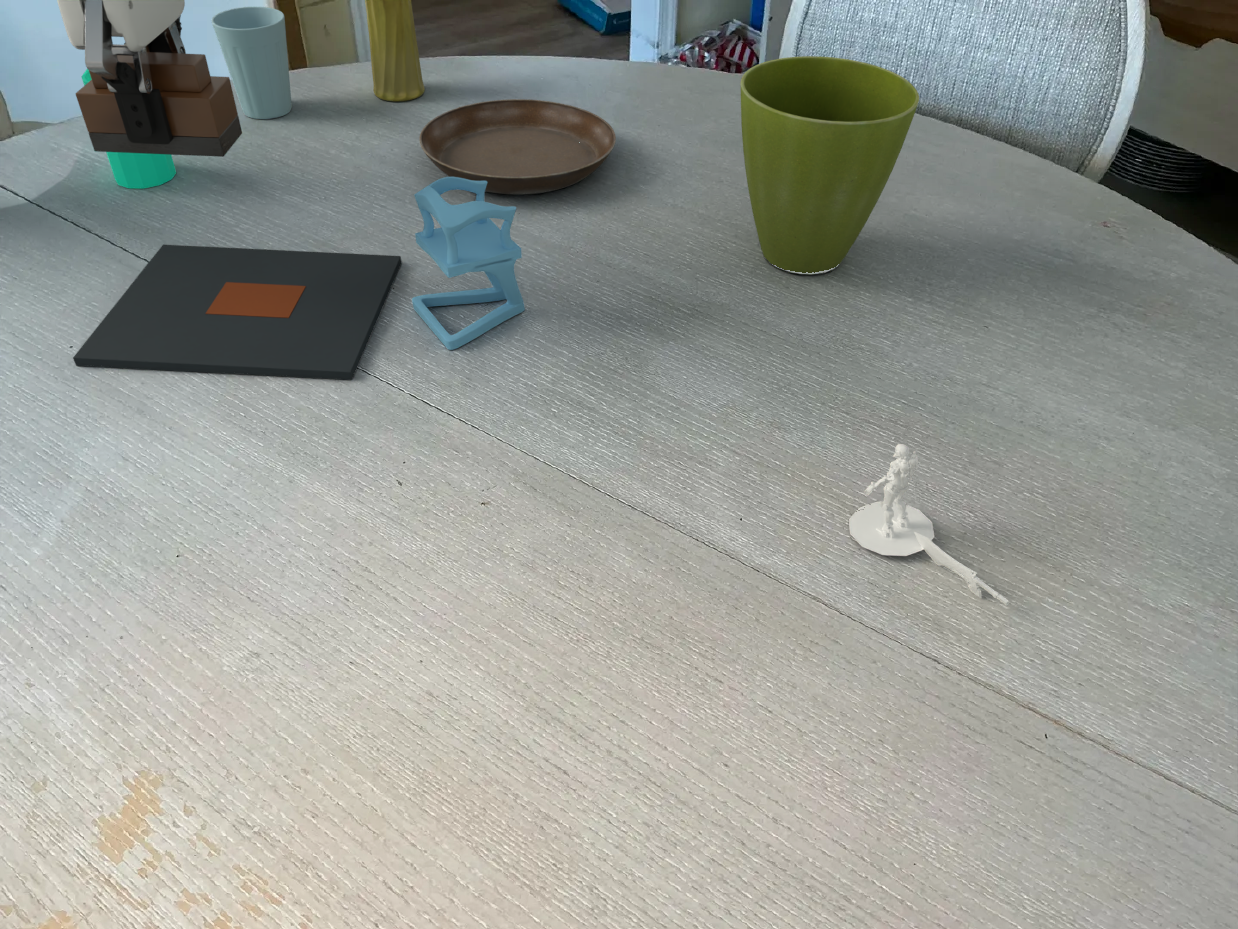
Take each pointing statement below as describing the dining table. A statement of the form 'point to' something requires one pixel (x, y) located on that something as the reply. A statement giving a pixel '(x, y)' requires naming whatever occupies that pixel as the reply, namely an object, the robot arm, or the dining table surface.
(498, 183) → the plant saucer
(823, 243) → the flower pot
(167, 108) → the brush
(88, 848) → the dining table surface
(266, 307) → the mat
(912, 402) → the dining table surface
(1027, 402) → the dining table surface
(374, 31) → the vase
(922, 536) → the figurine
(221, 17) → the cup
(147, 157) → the candle
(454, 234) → the chair
